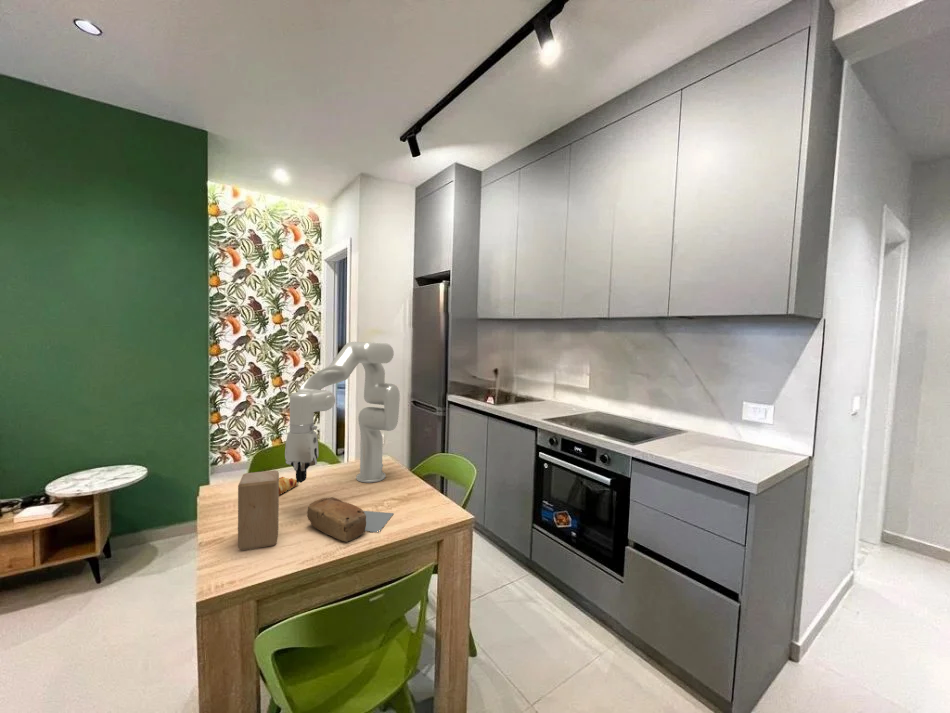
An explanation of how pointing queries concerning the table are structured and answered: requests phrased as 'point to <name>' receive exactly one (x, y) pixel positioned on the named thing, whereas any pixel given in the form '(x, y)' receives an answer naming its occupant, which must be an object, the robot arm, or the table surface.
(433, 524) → the table surface
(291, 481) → the croissant
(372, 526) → the mat
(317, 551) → the table surface
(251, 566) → the table surface
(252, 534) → the wooden block
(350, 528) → the brown rounded lump
